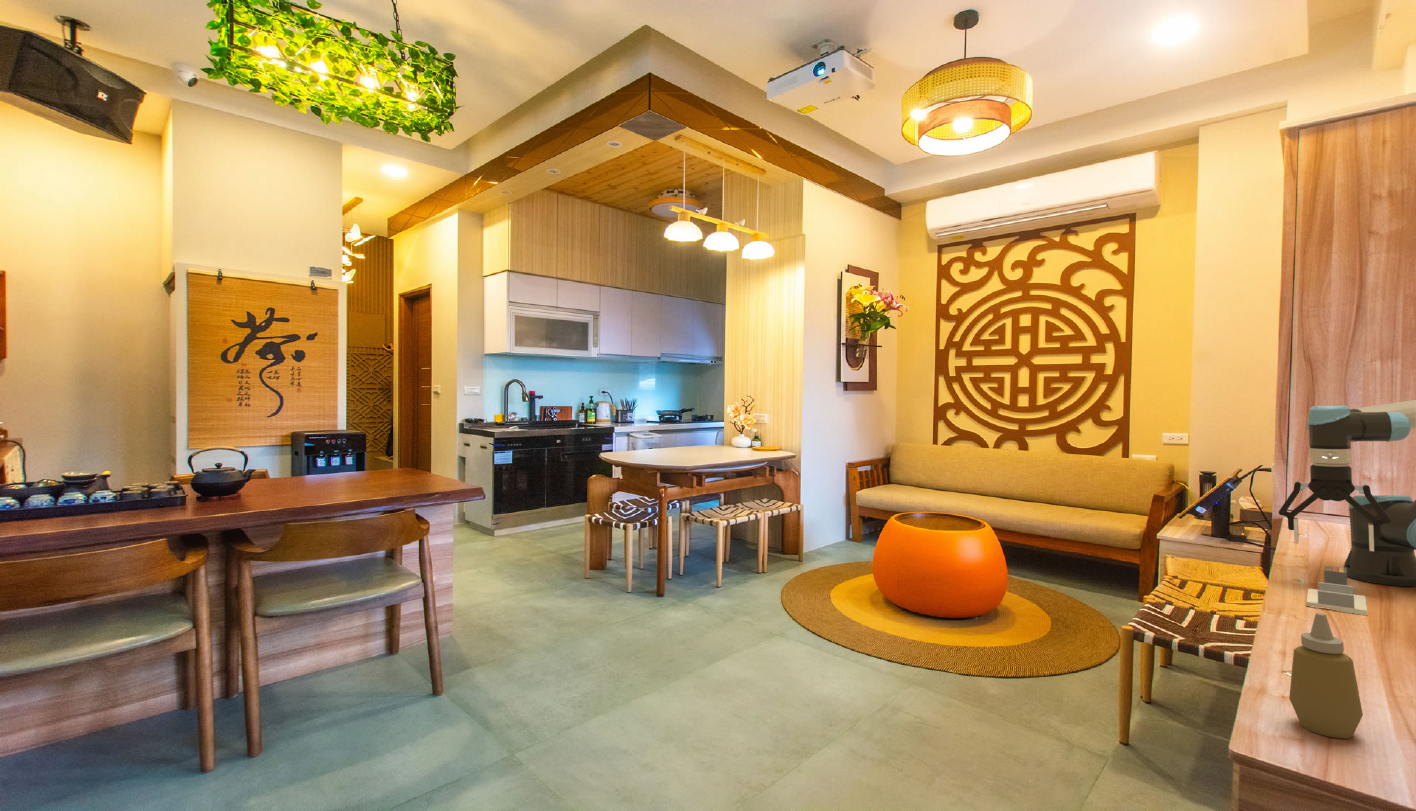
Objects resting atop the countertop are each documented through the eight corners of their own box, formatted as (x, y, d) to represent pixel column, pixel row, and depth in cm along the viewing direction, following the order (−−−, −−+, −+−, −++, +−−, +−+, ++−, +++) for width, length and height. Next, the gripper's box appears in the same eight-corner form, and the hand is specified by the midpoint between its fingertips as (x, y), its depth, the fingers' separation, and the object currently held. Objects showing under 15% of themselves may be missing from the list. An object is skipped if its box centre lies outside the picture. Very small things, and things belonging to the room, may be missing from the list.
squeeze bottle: (1380, 743, 91) (1374, 622, 91) (1325, 744, 91) (1320, 624, 91) (1326, 715, 99) (1321, 605, 99) (1276, 717, 99) (1271, 607, 99)
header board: (1308, 592, 158) (1308, 576, 158) (1365, 600, 151) (1364, 583, 151) (1306, 606, 148) (1306, 589, 148) (1367, 615, 141) (1366, 597, 141)
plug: (1325, 588, 161) (1324, 565, 161) (1347, 591, 158) (1346, 567, 158) (1325, 593, 157) (1324, 570, 157) (1347, 596, 154) (1346, 572, 154)
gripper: (1264, 463, 164) (1266, 542, 164) (1404, 468, 146) (1407, 556, 146) (1266, 461, 170) (1269, 537, 169) (1401, 465, 152) (1404, 550, 151)
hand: (1333, 546), depth 158 cm, fingers open, 13 cm apart
